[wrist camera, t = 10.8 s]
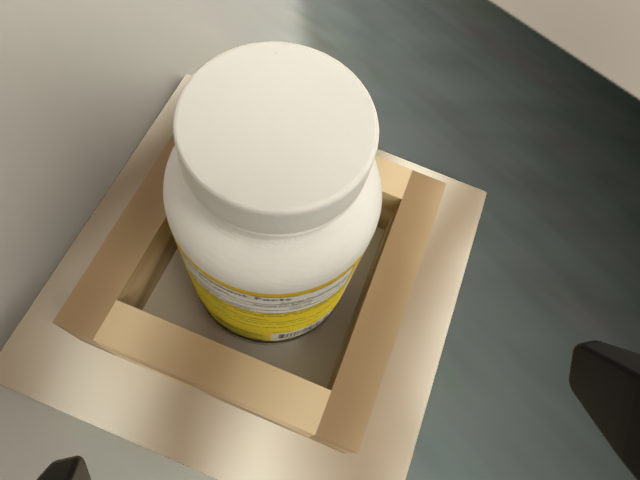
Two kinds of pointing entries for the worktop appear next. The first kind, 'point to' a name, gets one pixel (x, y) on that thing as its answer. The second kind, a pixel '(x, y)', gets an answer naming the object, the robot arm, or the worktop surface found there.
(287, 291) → the pill bottle
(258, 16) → the worktop surface
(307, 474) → the socket
